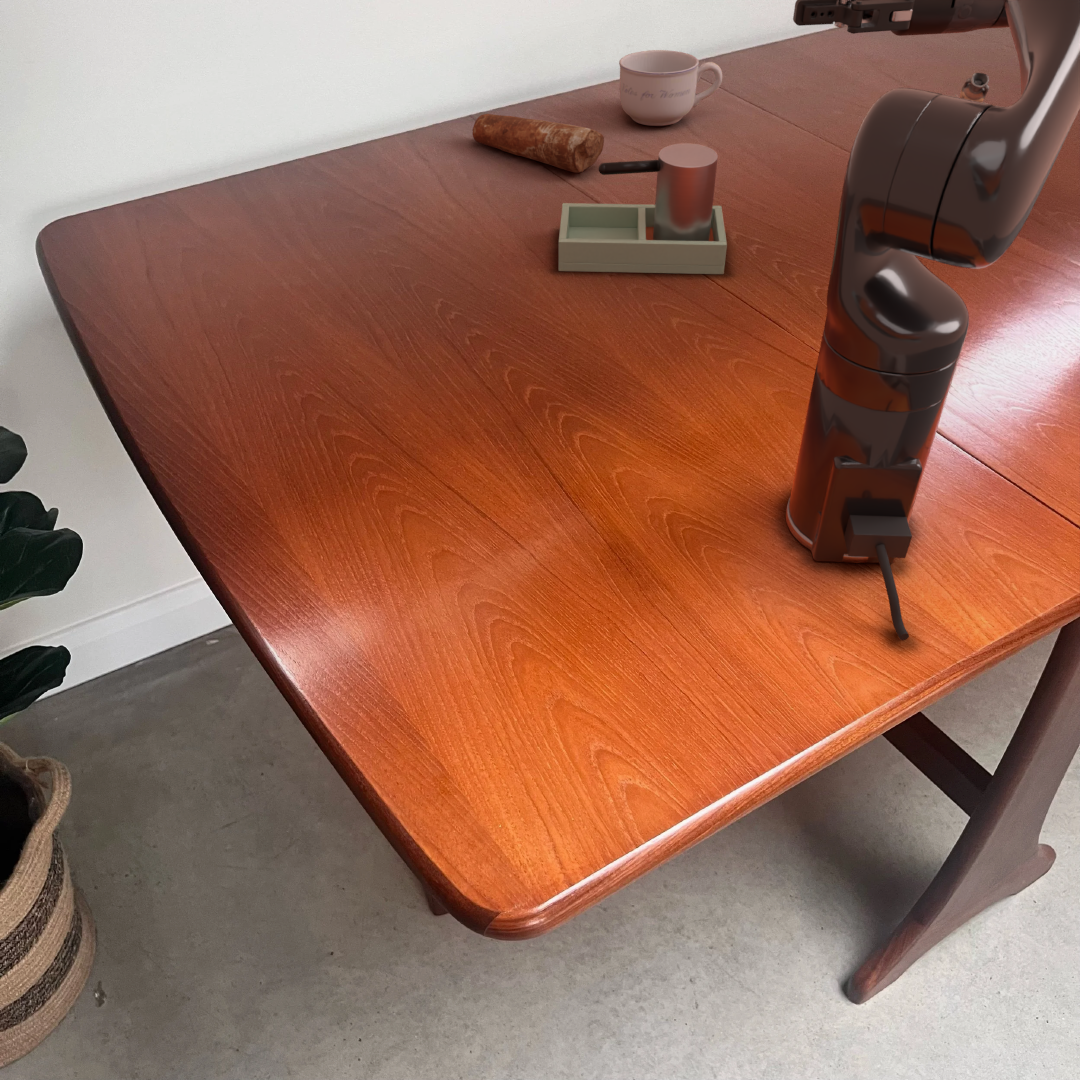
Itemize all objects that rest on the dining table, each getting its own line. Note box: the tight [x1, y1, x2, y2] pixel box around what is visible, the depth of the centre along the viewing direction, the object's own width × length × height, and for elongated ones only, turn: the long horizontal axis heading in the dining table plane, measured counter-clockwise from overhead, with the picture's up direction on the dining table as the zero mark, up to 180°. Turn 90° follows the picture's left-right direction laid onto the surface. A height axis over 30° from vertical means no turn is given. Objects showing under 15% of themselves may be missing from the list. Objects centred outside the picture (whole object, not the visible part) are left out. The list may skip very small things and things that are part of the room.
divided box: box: [557, 202, 728, 275], centre depth 116 cm, size 9×18×4 cm, turn 86°
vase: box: [954, 72, 990, 104], centre depth 143 cm, size 5×5×6 cm
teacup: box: [618, 49, 723, 127], centre depth 143 cm, size 14×11×8 cm
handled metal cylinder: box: [597, 142, 719, 241], centre depth 113 cm, size 13×6×10 cm, turn 96°
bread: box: [472, 113, 605, 174], centre depth 135 cm, size 6×19×6 cm, turn 52°
